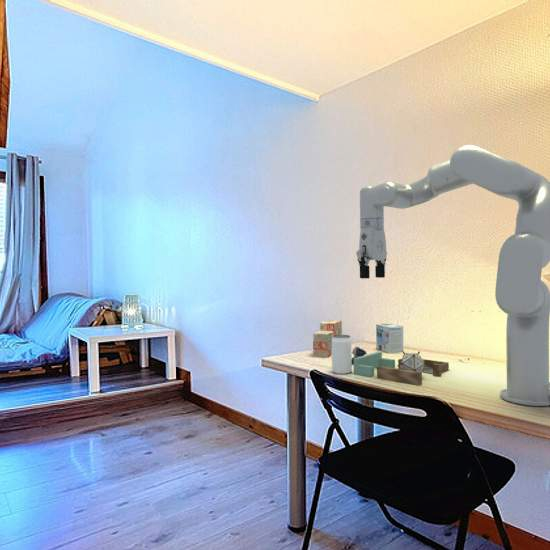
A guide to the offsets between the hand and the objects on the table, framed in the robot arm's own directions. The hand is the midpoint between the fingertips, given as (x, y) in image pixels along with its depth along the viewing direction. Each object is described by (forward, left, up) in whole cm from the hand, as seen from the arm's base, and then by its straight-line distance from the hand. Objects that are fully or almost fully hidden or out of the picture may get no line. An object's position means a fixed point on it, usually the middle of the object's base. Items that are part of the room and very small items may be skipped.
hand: (372, 277), depth 145 cm
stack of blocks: (+33, -20, -32) cm, 50 cm away
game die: (-12, -3, -31) cm, 34 cm away
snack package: (+13, -13, -32) cm, 37 cm away
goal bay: (+1, -3, -31) cm, 31 cm away
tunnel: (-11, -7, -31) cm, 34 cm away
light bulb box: (+15, -38, -31) cm, 52 cm away
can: (+9, +5, -31) cm, 33 cm away
